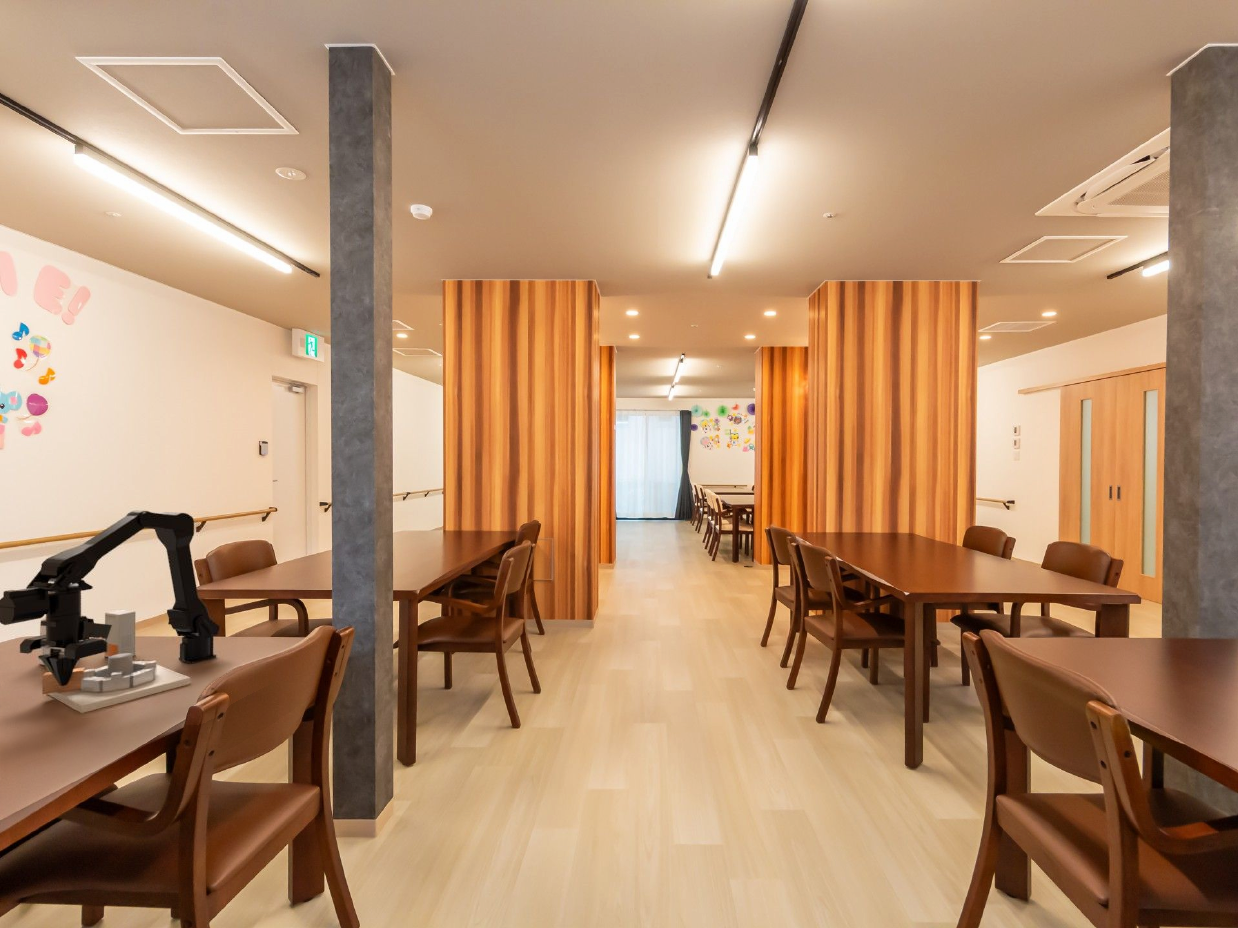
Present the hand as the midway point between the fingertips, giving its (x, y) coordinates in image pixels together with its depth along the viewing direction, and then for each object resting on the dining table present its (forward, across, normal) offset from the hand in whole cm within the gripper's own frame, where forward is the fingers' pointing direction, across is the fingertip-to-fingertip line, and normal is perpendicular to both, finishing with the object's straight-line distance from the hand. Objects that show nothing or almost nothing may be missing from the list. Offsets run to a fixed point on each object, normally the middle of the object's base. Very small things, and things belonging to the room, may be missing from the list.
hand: (63, 685), depth 132 cm
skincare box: (+3, +22, -26) cm, 34 cm away
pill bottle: (+3, +32, -18) cm, 37 cm away
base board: (+4, -4, -9) cm, 10 cm away
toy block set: (+2, -1, -6) cm, 7 cm away
